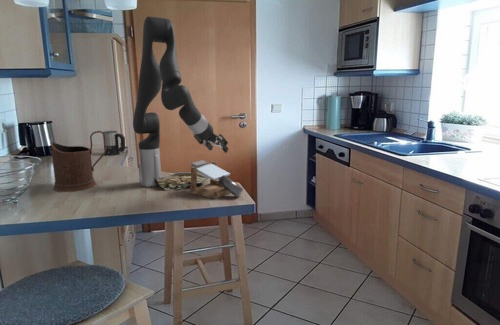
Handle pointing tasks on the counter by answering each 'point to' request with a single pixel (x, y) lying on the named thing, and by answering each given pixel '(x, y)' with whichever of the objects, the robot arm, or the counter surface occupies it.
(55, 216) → the counter surface
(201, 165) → the trapdoor
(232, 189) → the cylinder
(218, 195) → the stand
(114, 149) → the milk frother
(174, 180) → the rock
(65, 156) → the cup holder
